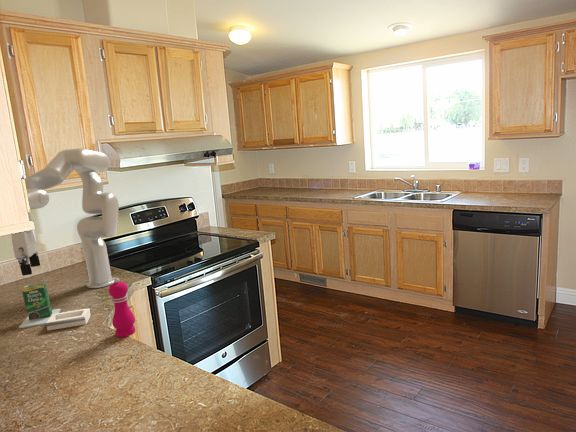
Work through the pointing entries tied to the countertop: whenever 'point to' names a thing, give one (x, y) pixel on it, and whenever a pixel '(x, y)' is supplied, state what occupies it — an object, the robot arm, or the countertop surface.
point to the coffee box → (37, 301)
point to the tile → (37, 320)
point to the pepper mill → (121, 309)
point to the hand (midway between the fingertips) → (31, 270)
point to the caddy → (68, 319)
